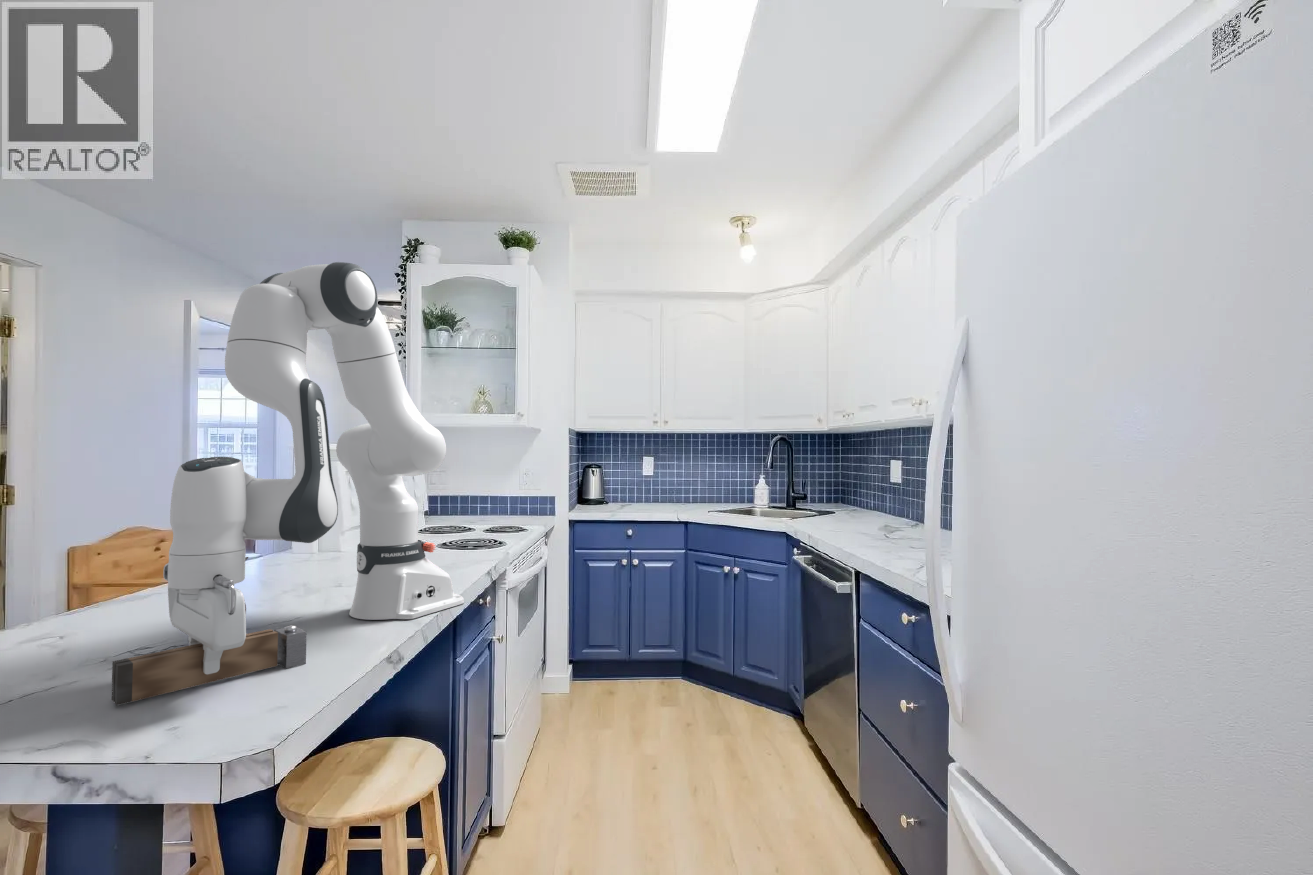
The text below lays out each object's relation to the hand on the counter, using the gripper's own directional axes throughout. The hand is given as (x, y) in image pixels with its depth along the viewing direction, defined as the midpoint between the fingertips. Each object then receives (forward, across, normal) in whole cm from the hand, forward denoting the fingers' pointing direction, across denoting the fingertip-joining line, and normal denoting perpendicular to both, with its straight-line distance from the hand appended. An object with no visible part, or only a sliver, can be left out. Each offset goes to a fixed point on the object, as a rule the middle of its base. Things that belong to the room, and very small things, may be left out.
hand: (205, 668), depth 86 cm
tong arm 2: (+2, -1, +1) cm, 2 cm away
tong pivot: (+2, 0, -11) cm, 11 cm away
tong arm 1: (+2, +1, +1) cm, 2 cm away
